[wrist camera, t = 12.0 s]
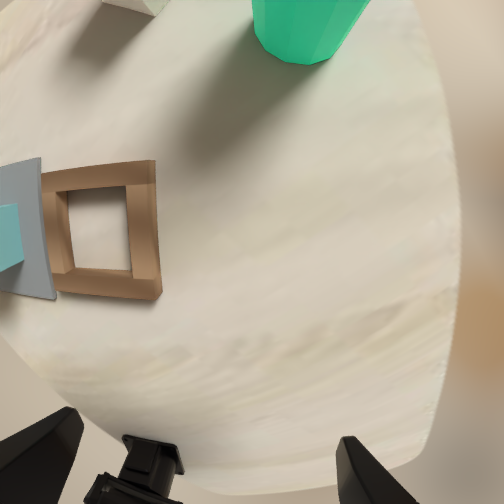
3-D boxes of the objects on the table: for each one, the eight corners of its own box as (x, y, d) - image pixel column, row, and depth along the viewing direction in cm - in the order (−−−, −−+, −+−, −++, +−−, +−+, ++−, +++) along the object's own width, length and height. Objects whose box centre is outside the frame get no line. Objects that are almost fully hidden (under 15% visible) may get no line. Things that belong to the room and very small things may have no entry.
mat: (56, 297, 21) (53, 299, 21) (-9, 286, 22) (-12, 288, 21) (40, 157, 18) (36, 157, 18) (-24, 174, 19) (-27, 175, 18)
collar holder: (162, 291, 21) (155, 300, 19) (65, 283, 21) (55, 290, 20) (155, 160, 18) (146, 160, 17) (52, 172, 18) (40, 173, 17)
